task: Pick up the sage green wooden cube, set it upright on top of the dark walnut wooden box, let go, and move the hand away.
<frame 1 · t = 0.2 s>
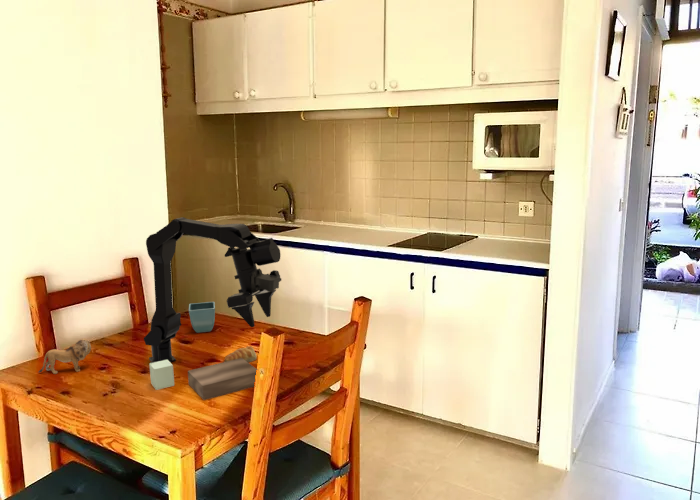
hand: (260, 321, 166), 15 cm above the table, tool pointing down, fingers open, 9 cm apart
lion figurine: (68, 370, 174), on the table
walnut box: (224, 386, 161), on the table
sage cube: (162, 384, 162), on the table
pastry: (242, 361, 179), on the table
flower pot: (203, 330, 207), on the table
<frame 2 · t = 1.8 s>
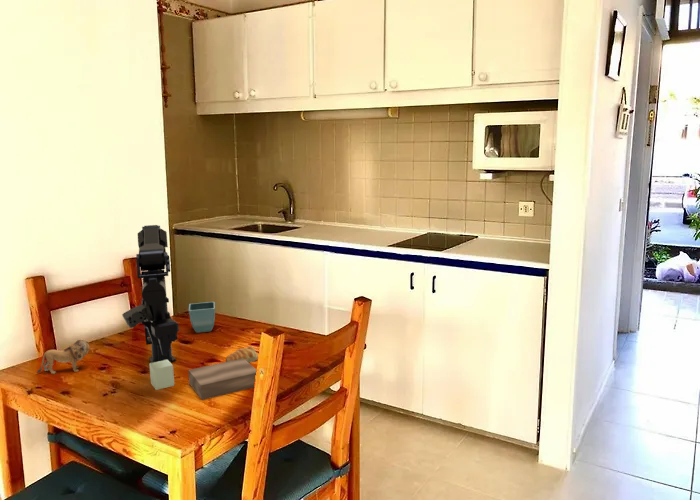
hand: (159, 349, 160), 10 cm above the table, tool pointing down, fingers open, 9 cm apart
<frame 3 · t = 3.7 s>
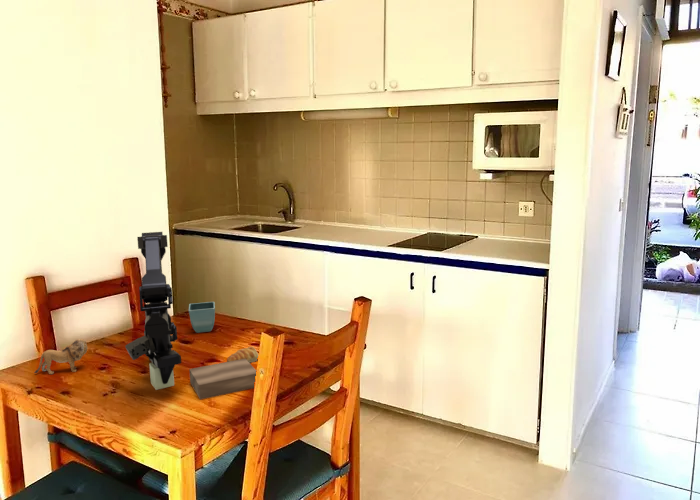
hand: (162, 380, 162), 1 cm above the table, tool pointing down, fingers closed on sage cube, 5 cm apart
sage cube: (162, 384, 162), on the table, touching gripper
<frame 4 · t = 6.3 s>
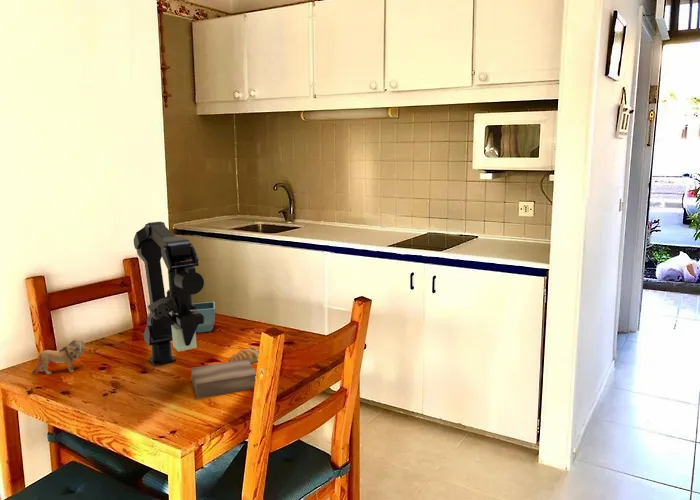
hand: (184, 342, 159), 12 cm above the table, tool pointing down, fingers closed on sage cube, 5 cm apart
sage cube: (184, 347, 159), point 11 cm above the table, touching gripper
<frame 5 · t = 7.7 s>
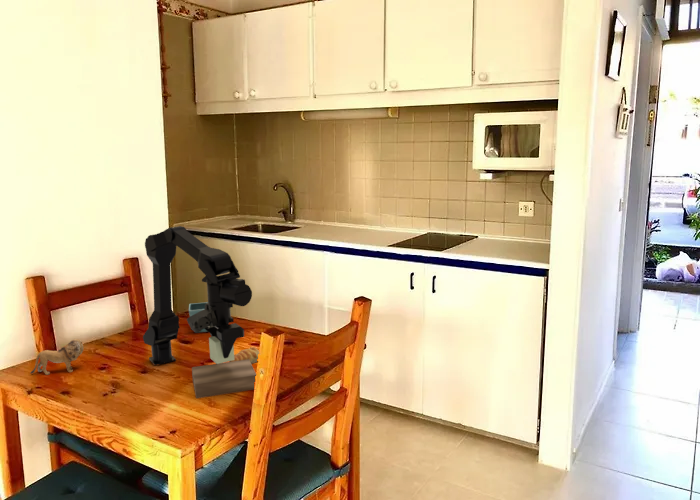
hand: (222, 354, 160), 9 cm above the table, tool pointing down, fingers closed on sage cube, 5 cm apart
sage cube: (222, 359, 160), point 7 cm above the table, touching gripper
when the fingers open (7 cm above the table, at t = 8.8 s): sage cube drops 2 cm, point 4 cm above the table.
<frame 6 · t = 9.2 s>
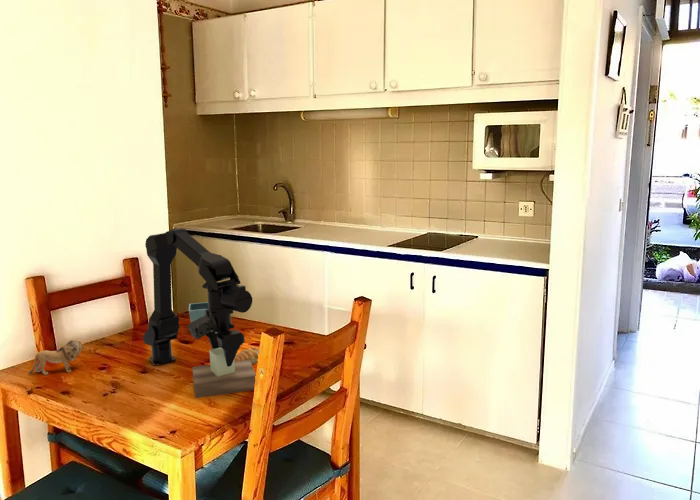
hand: (222, 360, 160), 7 cm above the table, tool pointing down, fingers open, 9 cm apart
sage cube: (222, 371, 161), point 4 cm above the table
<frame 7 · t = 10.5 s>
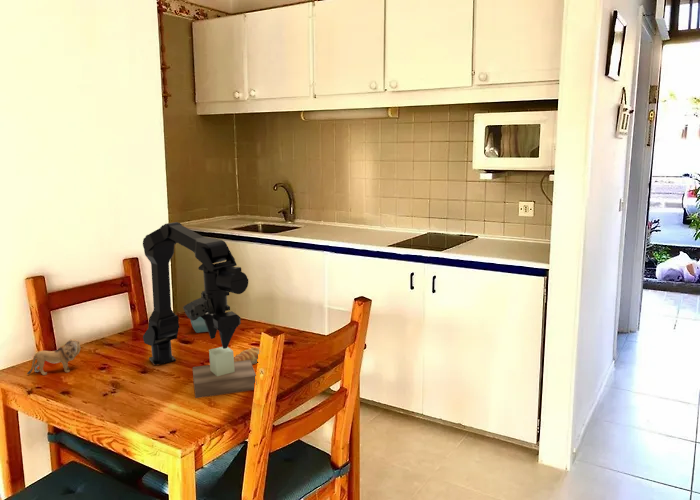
hand: (218, 343, 160), 12 cm above the table, tool pointing down, fingers open, 9 cm apart
walnut box: (224, 386, 161), on the table, touching sage cube
sage cube: (222, 371, 161), point 4 cm above the table, touching walnut box
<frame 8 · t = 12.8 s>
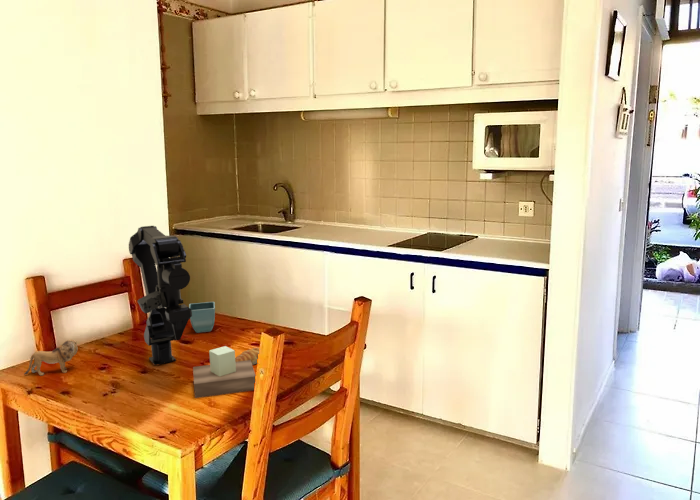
hand: (173, 335, 166), 12 cm above the table, tool pointing down, fingers open, 9 cm apart
at the end: sage cube inside the target area on the walnut box (0.1 cm from its centre), point 4.4 cm above the walnut box's base; sage cube tilted 0°; the gripper is holding nothing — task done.
